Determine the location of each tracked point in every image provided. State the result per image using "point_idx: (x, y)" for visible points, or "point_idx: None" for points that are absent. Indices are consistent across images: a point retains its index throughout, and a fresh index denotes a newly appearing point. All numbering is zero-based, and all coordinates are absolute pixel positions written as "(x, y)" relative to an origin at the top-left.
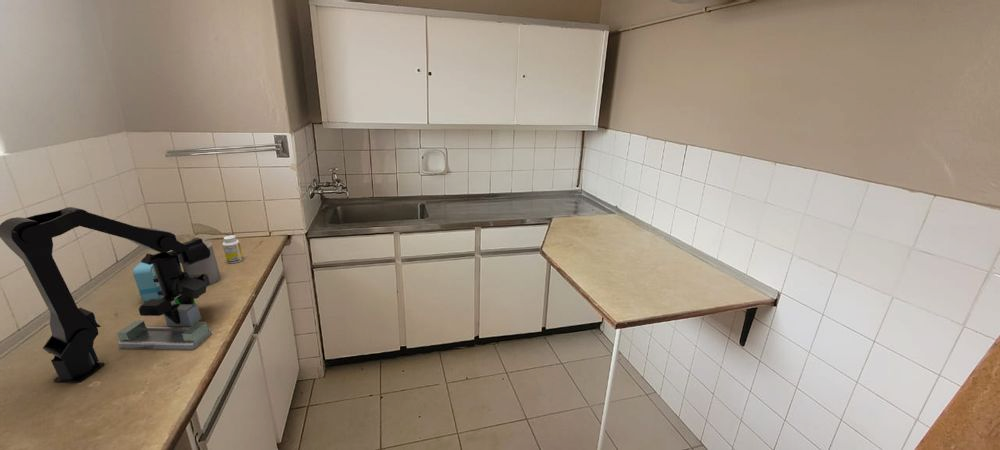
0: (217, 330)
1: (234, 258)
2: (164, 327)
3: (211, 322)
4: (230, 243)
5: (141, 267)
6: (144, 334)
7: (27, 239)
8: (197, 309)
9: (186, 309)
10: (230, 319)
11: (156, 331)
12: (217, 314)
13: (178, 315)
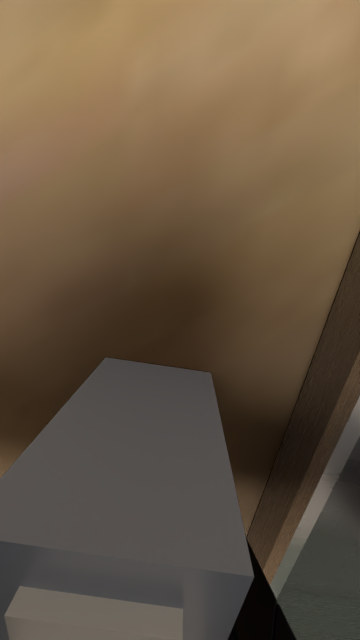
0: (343, 72)
1: None
2: (297, 533)
3: (168, 239)
4: None
5: None
6: (328, 581)
7: None
8: (57, 436)
9: (157, 604)
10: (123, 32)
11: (308, 543)
12: (37, 257)
13: None
